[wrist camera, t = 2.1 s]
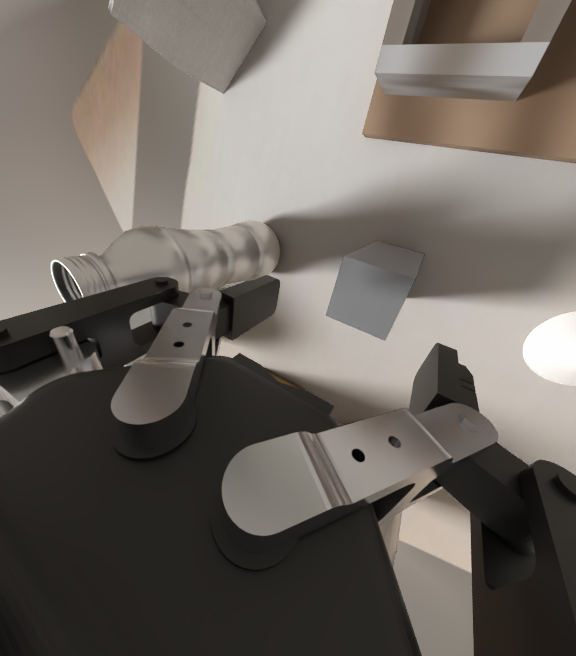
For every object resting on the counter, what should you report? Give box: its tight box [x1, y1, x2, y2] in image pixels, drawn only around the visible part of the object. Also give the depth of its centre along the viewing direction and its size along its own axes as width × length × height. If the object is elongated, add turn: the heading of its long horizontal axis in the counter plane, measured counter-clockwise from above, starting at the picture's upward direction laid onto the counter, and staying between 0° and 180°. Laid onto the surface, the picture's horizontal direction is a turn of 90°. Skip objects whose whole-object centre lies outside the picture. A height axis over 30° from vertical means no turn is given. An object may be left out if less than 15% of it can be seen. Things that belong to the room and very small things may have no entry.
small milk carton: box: [108, 0, 267, 93], centre depth 18 cm, size 4×7×10 cm, turn 123°
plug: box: [326, 241, 425, 340], centre depth 19 cm, size 4×4×10 cm
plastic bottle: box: [51, 221, 280, 311], centre depth 22 cm, size 6×7×20 cm
